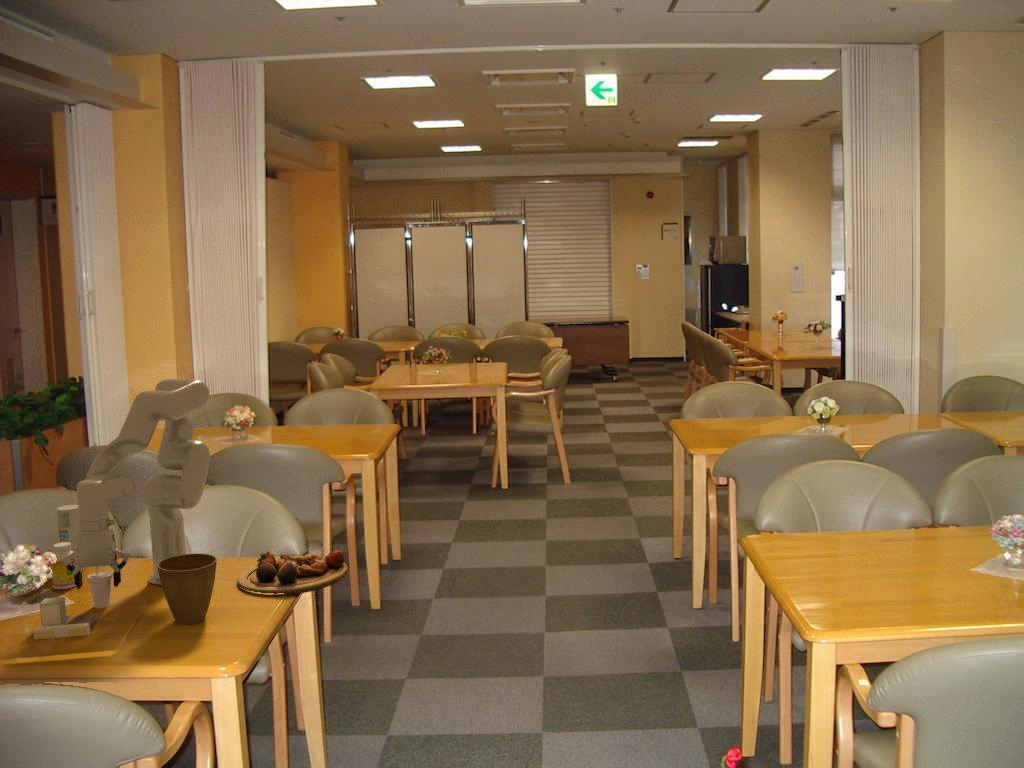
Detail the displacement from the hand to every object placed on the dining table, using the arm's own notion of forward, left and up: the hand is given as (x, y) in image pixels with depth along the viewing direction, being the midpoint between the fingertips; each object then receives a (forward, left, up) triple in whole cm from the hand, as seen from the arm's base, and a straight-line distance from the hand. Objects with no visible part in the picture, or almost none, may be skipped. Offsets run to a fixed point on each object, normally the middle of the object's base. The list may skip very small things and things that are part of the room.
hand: (98, 586), depth 276 cm
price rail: (+4, +20, -7) cm, 22 cm away
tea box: (+8, +13, -6) cm, 16 cm away
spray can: (+18, -40, -7) cm, 44 cm away
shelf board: (+4, +13, -7) cm, 16 cm away
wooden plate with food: (-51, -16, -7) cm, 54 cm away
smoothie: (0, -1, -7) cm, 7 cm away
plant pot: (-26, +13, -7) cm, 30 cm away
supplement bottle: (+16, -24, -7) cm, 29 cm away
